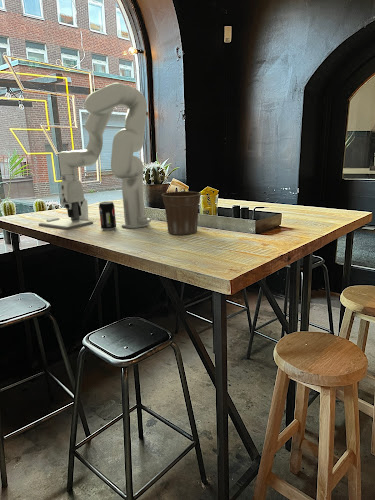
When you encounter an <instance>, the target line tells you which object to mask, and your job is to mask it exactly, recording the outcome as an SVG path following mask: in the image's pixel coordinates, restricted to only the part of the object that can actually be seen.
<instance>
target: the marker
mask: <svg viewBox="0 0 375 500" xmlns="http://www.w3.org/2000/svg"><path fill="white" fill-rule="evenodd" d="M71 209H73V216H74V217H73V218H71V217H70V219H71V220H72V222H79V220H80V218H79V210H78V203H77V202H74V203H72V208H71Z"/></svg>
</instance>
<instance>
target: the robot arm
mask: <svg viewBox="0 0 375 500" xmlns="http://www.w3.org/2000/svg"><path fill="white" fill-rule="evenodd" d="M84 106H85V109H86V111H87V112H88V113H89V114H88V116H87V118H86V121H85V122H84V123H85V124H84V129H85V131H86V132H87V134H88V143H87V145H86V148H85V149H79V150H72V151H71V150H69V151H67V150H66V151H60V152H58V160H59V168H60V174H61V175H60V177H59V179H60V180H61V182H60V183H61V184H60V194H61V196H60V197H61V200H60V205H61V206H62V207H64V208H65V209H66V210H67V211H66V212H67V216H68V218H70V219H71V218H73V217H74V216H73V209H71V208H72V203H74V202H77V203H78V210H79V216H81V207H82V204H83V202H84V201H85V199H86V198H85V194H84V188H83V185H82V182H81V180H79V174H78V168H84V167H91V166H93V165H95V164H96V163H97V161H98V159H99V157H100V155H101V153H102V150H103V147H104V146H103V143H104V139H103V138H104V137H103V135H104V132H105V131H106V127H107V125H108V122H109V121H110V118H111V116H112V114H113V111H114V108H115V107H118V106H120V107H125V108H127V113H126V115H125V120H124V122H125V123H124V128H122V129H119V130H118V131H117V132H116V133H115V134H114V135H113V140H112V146H111V156H110V157H111V158H110V168H111V173H112V174H113V176H114V177H115V178H117V179H119V180H122V181H121V192H122V193H121V194H122V203H123V205H122V206H123V215H124V216H123V218H124V222H122V223H121V227H122V228H125V229H137V228H138V229H140V228H144V227H148V226H149V225H150V222H151V221H152V219H151V218H148V216H147V215H146V211H145V194H144V164H143V161H142V159H141V158H139V156H137V155H134V153H138V152H140V151H141V150H142V149H143V146H144V141H145V130H146V120H147V111H148V110H147V109H148V105H147V99H146V98H145V96H144V94H143V93H142V92H141V91H140V90H138V89H137V88H135V87H134V86H131V85H128V84H123V83H121V82H114V83H111V84H108V85H105V86H104V87H102V88H101V87H100V89H97V90H95V91H93V92H91V93H90V94H88V95H87V96H86V98H85V101H84Z"/></svg>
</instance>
